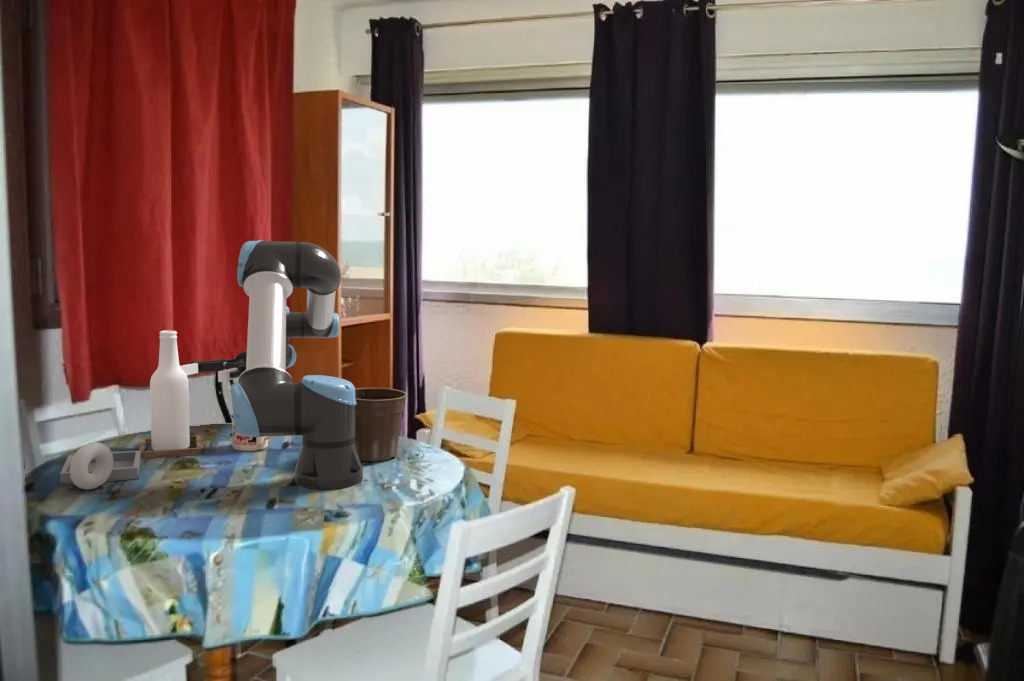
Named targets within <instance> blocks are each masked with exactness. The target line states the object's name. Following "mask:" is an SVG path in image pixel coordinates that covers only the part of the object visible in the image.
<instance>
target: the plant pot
mask: <svg viewBox="0 0 1024 681" xmlns="http://www.w3.org/2000/svg"><path fill="white" fill-rule="evenodd" d="M407 397H408V393H407V392H405V391H403V390H400V389H399V390H398V389H394V388H386V387H359V388H358V387H357V388H355V399H356V405H355V446H356V449H357V452H358V455H359V458H360V461H361V462H370V463H376V462H377V463H379V462H384V461H385V462H386V461H390V460H391V459H395V458H396V457H397V455H398V448H399V439H400V432H401V429H400V428H401V422H402V415H403V411H404V409H405V402H406V398H407Z"/></svg>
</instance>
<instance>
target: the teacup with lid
mask: <svg viewBox="0 0 1024 681" xmlns="http://www.w3.org/2000/svg"><path fill="white" fill-rule="evenodd" d="M231 418H232V425H231V426H232V448H233V449H234V450H236V451H240V452H255V451H260V450H261V451H262V450H264V449H266V448H267V447H268V446H269V440H273V439H274V438H276V436H264V437H258V438H256V437H243V436H240V435H238V434H237V432H236V430H235V423H234V415H233V412H232V413H231Z"/></svg>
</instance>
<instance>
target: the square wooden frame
mask: <svg viewBox="0 0 1024 681" xmlns="http://www.w3.org/2000/svg"><path fill="white" fill-rule="evenodd" d="M190 443H195V444H196V445H195V446H196V447H191V448H190V447H188V448H187V449H173V450H158V451H154V450H147V451H146V446H152V439H151V437H147V438H143V437H142V438H141V439H140V444H139V450H141V460H143V459H144V460H145V459H158V458H169V457H170V458H171V457H184V456H186V455H187V456H197V455H198V456H199V455H200V454H201V455H202V451H203V450H202V441H201V434H195V435H190Z"/></svg>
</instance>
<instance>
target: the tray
mask: <svg viewBox="0 0 1024 681" xmlns="http://www.w3.org/2000/svg"><path fill="white" fill-rule="evenodd" d="M111 453H112V455H113V469H112V471H111V474H110V476H109V477H108V479H107V480H106V481H105V482H115V481H117V482H118V481H128V480H139V478H140V477H139V476H140V471H141V470H140V469H141V465H142V464H141V463H142V459H141V450H126V451H124V450H123V451H111ZM74 455H75V454H69V455H68V456H67V458H66V460H65V462H64V465H63V466H62V469H61V471H60V473H59V481H60V486H65V485H75V484H74V483H73V481H72V479H71V478H70V472H69V470H70V463H71V460H72V458H73V456H74ZM95 467H96V460H95V458H93V459H92V460H91V461H90V463H89V465H88V472H89V474H90V473H92V472H93V471H94V469H95Z"/></svg>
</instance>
